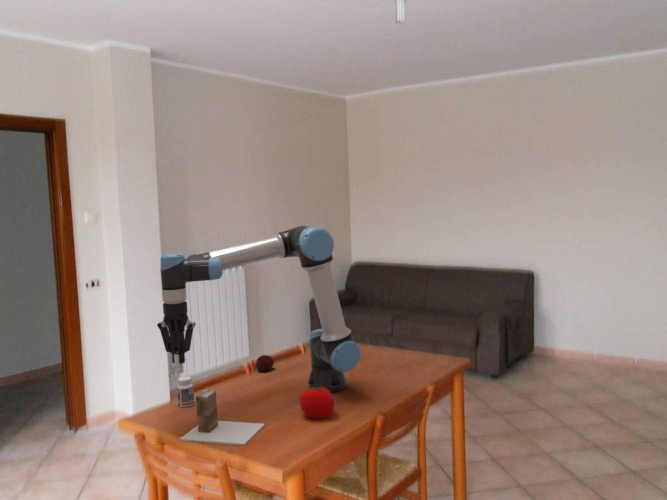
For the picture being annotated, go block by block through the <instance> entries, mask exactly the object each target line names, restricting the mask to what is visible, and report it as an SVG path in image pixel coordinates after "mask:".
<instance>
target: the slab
mask: <svg viewBox="0 0 667 500" xmlns="http://www.w3.org/2000/svg"><path fill="white" fill-rule="evenodd" d="M217 403H218V401H217V390H216V389H203V390H201V391H200V392H199V393H197V394H195V404H196V406H195V408H196V419H197V421H196V422H197V425H198V432H206V433H210V432H211V431H212V430H213V429H215V428H216V427H217V426H218V421H219V419H218V417H219V416H218V404H217Z"/></svg>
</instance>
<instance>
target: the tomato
mask: <svg viewBox="0 0 667 500" xmlns="http://www.w3.org/2000/svg"><path fill="white" fill-rule="evenodd" d="M299 406H300V408H301V411H302V413H303V414H304V415H305V416H306V417H309V418H312V419H326V418H329V417H331V415H332V414H333V412H334V408H335V407H334V406H335V401H334V398H333V394H332V393H330V391H329V389H326V388H325V387H316V388H309V389H308V388H306V389H304V390H303V391H302V392H301V394H300V397H299Z"/></svg>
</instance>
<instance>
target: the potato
mask: <svg viewBox="0 0 667 500" xmlns="http://www.w3.org/2000/svg"><path fill="white" fill-rule="evenodd" d="M274 363H275V360H274V359H273V357H271V356H270V355H266V354H265V355H264V354H263V355H260V356H259V357H258V358H257V359H256V362H255V367H256V369H257V370H258V371H259V372H266V371H269V370H270V369H272V368H273V366H274Z"/></svg>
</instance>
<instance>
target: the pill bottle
mask: <svg viewBox="0 0 667 500" xmlns="http://www.w3.org/2000/svg"><path fill="white" fill-rule="evenodd" d="M177 383H178V385H177V388H176V389H177V402H178V403H177V404H178V406H179V407H180V408H187V407H192V406H193V405H195V393H194V385H193V383H192V377H191V376H181V377H179V378H178V379H177Z"/></svg>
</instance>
